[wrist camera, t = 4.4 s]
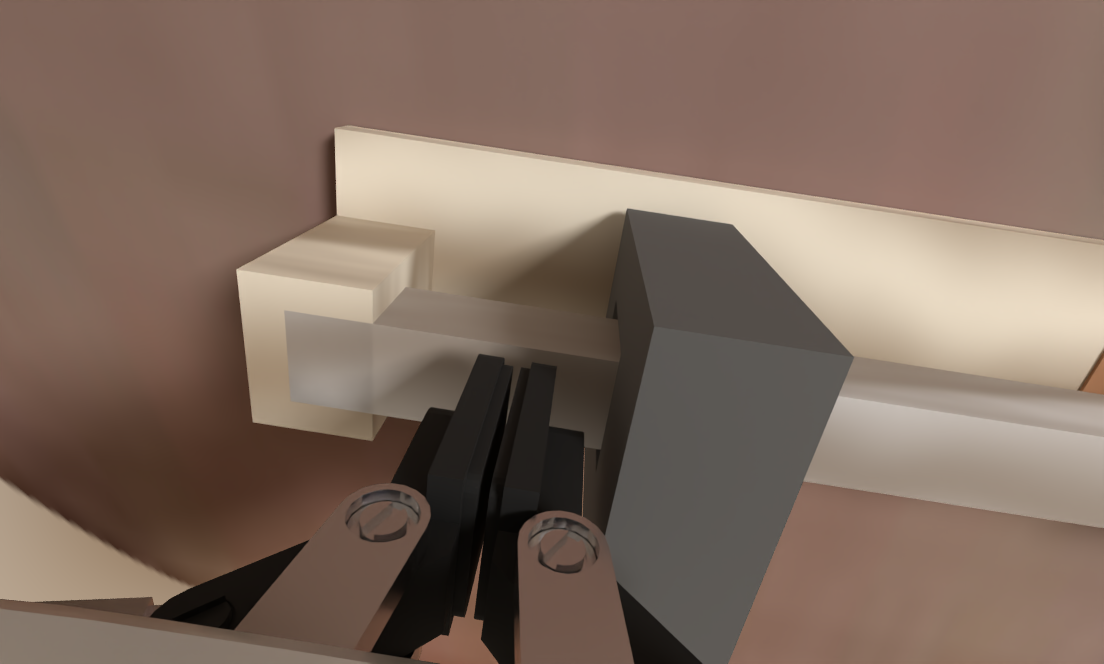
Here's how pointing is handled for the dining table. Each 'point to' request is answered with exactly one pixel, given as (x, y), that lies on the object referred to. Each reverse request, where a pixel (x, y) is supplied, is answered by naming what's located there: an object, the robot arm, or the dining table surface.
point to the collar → (705, 423)
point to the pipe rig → (593, 340)
